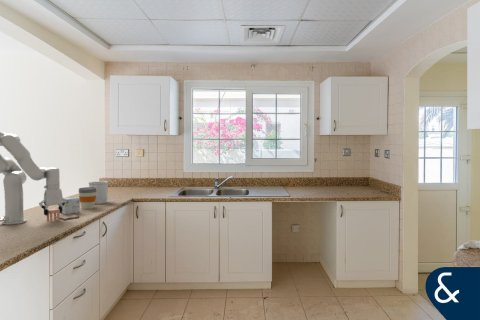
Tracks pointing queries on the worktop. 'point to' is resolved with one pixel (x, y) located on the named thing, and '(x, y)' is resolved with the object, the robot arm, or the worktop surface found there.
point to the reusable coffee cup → (87, 197)
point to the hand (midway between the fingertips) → (53, 214)
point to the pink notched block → (54, 211)
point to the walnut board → (68, 217)
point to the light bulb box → (71, 205)
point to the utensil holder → (100, 191)
